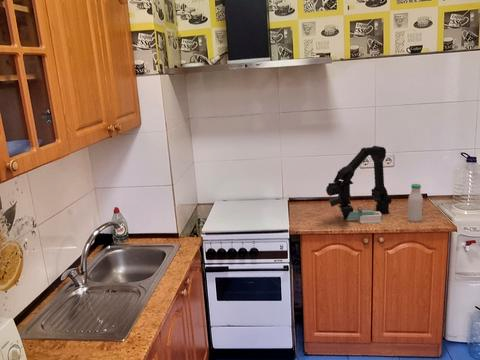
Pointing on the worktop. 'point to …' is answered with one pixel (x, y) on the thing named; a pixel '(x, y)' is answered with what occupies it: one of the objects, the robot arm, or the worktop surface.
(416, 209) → the milk bottle
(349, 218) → the teal square rod
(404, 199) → the worktop surface
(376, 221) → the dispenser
